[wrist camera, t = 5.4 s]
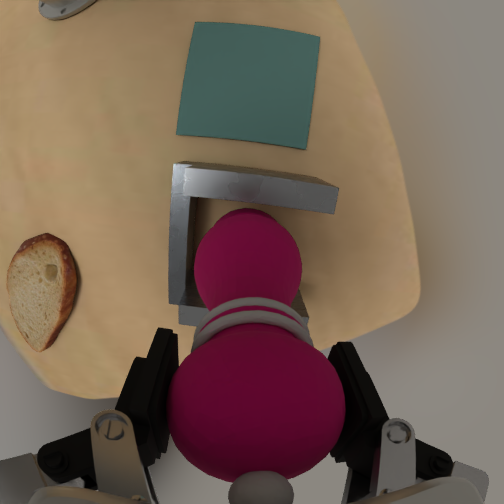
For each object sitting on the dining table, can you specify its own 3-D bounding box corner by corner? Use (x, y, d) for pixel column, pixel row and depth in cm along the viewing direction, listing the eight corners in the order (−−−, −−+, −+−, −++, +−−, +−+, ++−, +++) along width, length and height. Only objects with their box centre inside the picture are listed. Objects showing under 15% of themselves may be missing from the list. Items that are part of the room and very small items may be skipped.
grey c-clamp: (184, 161, 25) (163, 166, 18) (315, 177, 26) (339, 188, 19) (177, 331, 32) (164, 372, 25) (281, 342, 33) (288, 383, 26)
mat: (196, 24, 20) (195, 22, 19) (318, 39, 20) (320, 36, 20) (177, 134, 24) (176, 134, 23) (304, 149, 25) (305, 149, 24)
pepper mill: (280, 288, 25) (334, 527, 6) (198, 277, 24) (143, 523, 5) (298, 209, 22) (458, 444, 3) (208, 195, 21) (79, 452, 3)
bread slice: (35, 346, 34) (24, 359, 30) (-8, 247, 27) (-23, 257, 24) (114, 350, 33) (105, 368, 30) (67, 226, 27) (50, 236, 23)
